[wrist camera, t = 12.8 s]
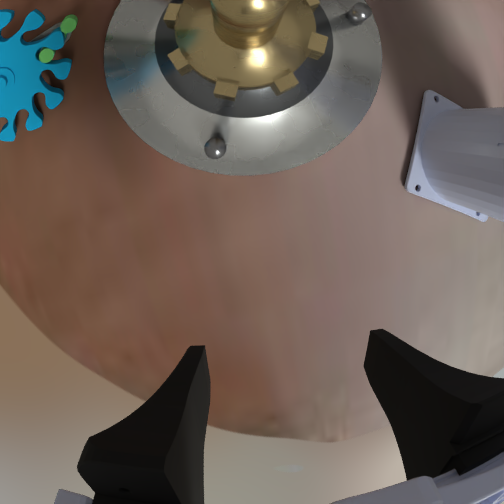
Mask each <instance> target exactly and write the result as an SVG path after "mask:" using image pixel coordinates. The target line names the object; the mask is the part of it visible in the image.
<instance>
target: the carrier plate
mask: <svg viewBox="0 0 504 504" xmlns="http://www.w3.org/2000/svg"><path fill="white" fill-rule="evenodd" d="M183 1H184V0H121V2H120V3H119V5H118V7H117V8H116V10H115V12H114V15H113V17H112V19H111V22H110V24H109V28H108V31H107V35H106V39H105V47H104V71H105V77H106V82H107V86H108V89H109V92H110V95H111V97H112V100H113V102H114V104H115V106H116V108H117V109H118V111H119V113H120V115H121V116H122V118H123V119H124V120H125V122H126V123H127V124H128V125H129V127H130V128H131V129H132V130H133V131H134V132H135V133H136V134H137V135H138V136H139V137H140V138H141V139H142V140H143V141H144V142H146V143H147V144H148V145H150V146H151V147H152V148H154V149H155V150H156V151H158V152H159V153H161V154H163V155H165V156H167V157H169V158H170V159H172V160H174V161H176V162H179V163H181V164H184V165H187V166H189V167H192V168H195V169H199V170H203V171H207V172H211V173H218V174H225V175H249V176H251V175H260V174H270V173H275V172H279V171H283V170H288V169H291V168H294V167H297V166H299V165H302V164H305V163H308V162H310V161H312V160H314V159H316V158H317V157H319V156H321V155H323V154H325V153H326V152H328V151H329V150H331V149H332V148H334V147H335V146H337V145H338V144H339V143H340V142H342V141H343V140H344V139H345V138H346V137H347V136H348V135H349V134H350V133H351V132H352V131H353V130H354V129H355V128H356V126H357V125H358V124H359V123H360V122H361V121H362V119H363V117H364V116H365V114H366V113H367V111H368V109H369V108H370V106H371V104H372V102H373V99H374V97H375V95H376V92H377V89H378V85H379V81H380V77H381V69H382V46H381V41H380V35H379V31H378V28H377V25H376V22H375V19H374V16H373V14H372V11H371V8H370V7H369V6H368V5H367V3H366V1H365V0H319V2H320V4H319V5H318V7H317V8H316V10H315V11H314V12H313V14H314V18H315V22H316V33H318V34H321V35H324V36H327V37H328V40H327V44H326V48H325V52H324V54H323V55H322V56H321V57H320V58H319V59H318V60H316V59H313V58H310V57H307V58H306V59H305V61H304V62H303V63H302V64H301V65H300V67H299V68H298V69H297V70H296V71H295V72H294V73H293V74H294V76H295V77H296V79H297V80H298V82H299V84H297V85H296V86H295V87H294V88H292V89H291V90H289V91H287V92H285V93H283V94H281V95H279V96H276V94H275V93H274V91H273V89H272V88H271V86H269V87H266V88H262V89H256V90H238V92H237V96H236V100H235V102H234V101H230V100H225V99H221V98H216V97H215V96H214V89H215V86H216V85H215V84H213V83H210V82H209V81H207V80H205V79H203V78H202V77H201V76H199V75H198V74H197V73H196V72H195V71H194V70H191V71H189V72H188V73H186V74H184V75H183V76H181V74H180V73H179V72H178V70H177V69H176V67H175V66H174V64H173V63H172V61H171V60H170V58H169V57H168V54H169V53H171V52H173V51H174V50H176V49H178V48H179V47H178V45H177V42H176V37H175V29H174V28H168V27H167V25H166V24H165V22H164V20H163V18H164V16H165V13H166V10H167V8H168V5H169V3H174V4H182V3H183Z"/></svg>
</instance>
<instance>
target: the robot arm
mask: <svg viewBox="0 0 504 504" xmlns="http://www.w3.org/2000/svg"><path fill="white" fill-rule="evenodd" d="M434 96H435V97H436V102H435V100H434ZM416 185H418V190H417V191H416V190H415V187H416ZM405 189H406V191H408V192H410V193H412V194H415V195H418V196H421V197H423V198H426V199H429V200H431V201H434V202H436V203H439V204H442V205H444V206H447V207H449V208H452V209H454V210H457V211H459V212H461V213H464V214H466V215H469V216H471V217H473V218H476V219H478V220H480V221H483V222H485V221H486V220H487V219H488V216H490V217H492V218H495V219H497V220H500V221H502V222H504V107H499V108H472V109H464V108H462V107H460V106H459V105H457V104H455V103H454V102H452V101H450V100H448V99H447V98H445V97H443V96H441V95H440V94H438V93H436V92H434V91H432V90H426V91H425V92H424V96H423V102H422V108H421V113H420V119H419V124H418V129H417V134H416V139H415V144H414V148H413V153H412V157H411V161H410V165H409V170H408V174H407V178H406V181H405ZM476 212H477V214H476ZM364 369H365V372H366V375H367V377H368V380H369V383H370V385H371V387H372V389H373V391H374V393H375V395H376V397H377V399H378V400H379V402H380V404H381V406H382V408H383V410H384V412H385V414H386V416H387V418H388V420H389V422H390V424H391V426H392V429H393V432H394V435H395V437H396V441H397V444H398V447H399V450H400V454H401V457H402V461H403V465H404V469H405V473H406V478H407V481H405V482H401V483H398V484H395V485H393V486H389V487H386V488H383V489H379V490H376V491H372V492H368V493H365V494H361V495H357V496H353V497H349V498H345V499H342V500H339V501H336V502H333V503H331V504H500V503H502V502H503V501H504V378H494V377H487V376H482V375H477V374H473V373H469V372H466V371H463V370H460V369H457V368H454V367H451V366H449V365H447V364H444V363H442V362H439V361H437V360H435V359H433V358H431V357H429V356H428V355H426V354H424V353H422V352H420V351H419V350H417V349H415V348H413V347H412V346H410V345H409V344H407V343H405V342H404V341H402V340H401V339H399V338H397V337H396V336H394V335H392V334H391V333H389V332H387V331H386V330H384V329H377V330H371V331H370V335H369V341H368V346H367V351H366V356H365V361H364ZM209 406H210V375H209V369H208V363H207V356H206V350H205V345H202V346H190V347H189V348H188V349H187V351H186V353H185V354H184V356H183V357H182V359H181V361H180V362H179V363H178V365H177V366H176V368H175V369H174V370H173V372H172V373H171V375H170V376H169V377H168V378H167V380H166V381H165V382H164V383H163V384H162V385H161V387H160V388H159V389H158V390H157V391H156V392H155V393H154V394H153V395H152V396H151V397H150V398H149V399H148V400H147V401H146V402H145V403H144V404H143V405H142V406H140V407H139V408H138V409H137V410H135V411H134V412H133V413H132V414H130V415H129V416H127V417H126V418H125V419H123V420H121V421H120V422H118V423H117V424H115V425H113V426H111V427H110V428H108V429H106V430H104V431H102V432H100V433H98V434H96V435H94V436H91V437H89V439H88V440H87V442H86V444H85V446H84V449H83V451H82V454H81V457H80V460H79V462H78V465H77V469H78V472H79V473H80V475H81V476H82V478H83V479H84V480H85V481H86V483H87V484H88V485H89V486H90V487H91V488H92V490H93V491H94V492H95V496H94V499H91V498H89V497H87V496H84V495H81V494H77V493H74V492H70V491H66V490H63V489H59V491H58V493H57V496H56V499H55V502H54V504H204V481H203V480H204V478H203V477H204V476H203V475H204V473H203V471H204V470H203V467H204V465H203V463H204V460H203V459H204V441H205V434H206V427H207V420H208V413H209Z"/></svg>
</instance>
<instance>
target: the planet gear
mask: <svg viewBox="0 0 504 504" xmlns="http://www.w3.org/2000/svg"><path fill="white" fill-rule="evenodd" d="M319 4H320V2H319V0H184V1H183V3H182V4H174V3H169V5H168V8H167V10H166V13H165V16H164V18H163V20H164V22H165V24H166V25H167V27H168V28H174V29H175V37H176V42H177V45H178V47H179V48H178V49H176V50H174V51H173V52H171V53H169V54H168V57H169V58H170V60H171V61H172V63H173V64H174V66H175V67H176V69H177V70H178V72H179V73H180V74H181V76H183V75H184V74H186V73H188V72H189V71H191V70H194V71H195V72H196V73H197V74H198V75H199V76H201V77H202V78H203V79H205V80H207V81H209V82H210V83H213V84H215V85H216V86H215V89H214V96H215V97H216V98H221V99H225V100H230V101H234V102H235V100H236V96H237V92H238V90H256V89H262V88H266V87H269V86H271V88H272V89H273V91H274V93H275V94H276V96H279V95H281V94H283V93H285V92H287V91H289V90H291V89H292V88H294V87H295V86H296V85H297V84H299V82H298V80H297V79H296V77H295V76H294V74H293V73H294V72H295V71H296V70H297V69H298V68H299V67H300V65H301V64H302V63H303V62H304V61H305V59H306V58H307V57H310V58H313V59H316V60H318V59H319V58H320V57H321V56H322V55H323V54H324V52H325V48H326V44H327V40H328V37H327V36H324V35H321V34H318V33H316V22H315V18H314V14H313V12H314V11H315V10H316V8H317V7H318V5H319Z"/></svg>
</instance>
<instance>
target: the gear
mask: <svg viewBox="0 0 504 504" xmlns="http://www.w3.org/2000/svg"><path fill="white" fill-rule="evenodd" d="M13 17H14V11H13V10H9V9H3V10H0V117H5V118H7V120H8V122H7V123H6V124H5V125H4V126H3V127H2V130H1V133H0V140H2V141H13V140H14V139H15V136H16V132H17V128H16V125H15V116H16V114H17V112H18V111H19V110H21V109H26V110H27V111H28V112H29V115H28V118H27V121H26V128H27V130H28V131H31V130H35V129H37V128H39V127H41V126H42V122H43V115H42V113H41V112H39V111H38V109H37V108H36V106H35V104H34V94H35V93H37V92H42V93H44V94H45V97H46V105H47V107H48V108H50V109H54V108H55V107H57V106H58V105H59V104H60V102H61V101H62V100H63V97H64V92H63V90H61V89H60V88H55V87H52V86H50V85H49V84H47V83H46V82H45V80H44V79H43V77H42V76H41V72H42V71H44V70H51V71H52V72H53V73H54V75H55V76H56V78H58V79H61V80H63V79H66V78H67V76H68V74H69V72H70V68H71V64H72V60H71V59H69V58H63V59H60V60H52V59H53V57H54V54H55V51H56V50H58V49H60V48H62V47H63V46H64V44H65V43H66V42H67V41H68V40H69V38H70V36H71V33H72V31H73V30H74V29H75V28H76V25H77V22H78V18H77V17H76V16H75V15H72V14H71V15H68V16H66V17H65V18H64V19H63V21H62V22H59V23H57V24H55V25H54V26H52V27H50V28H49V29H47V30H46V31H44V32H43V33H41V34H40V35H38V36H37V37H35V38H34V39H33V40H31V41H30V42H26V41H24V40H23V33H24V32H26V31H30V30H35V29H37V28H39V27H40V26H41V25H42V24H43V22H44V21H45V16H44V15H43V14H42V13H41V12H40V11H38V10H37V9H35V10H33V11H32V12H30V13H29V14H28V15H27V17H26V18H25V21H24V23H23V25H22V27H21V28H20V30H19V31H18V32H17V33H15V34H14V35H13V36H12V37H10V38H7V39H5V38H3V37H2V36H1V30H2V28H3V27H5V26H6V25H7V24H8V23H9V22H10V21H11V20H12V19H13Z"/></svg>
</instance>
